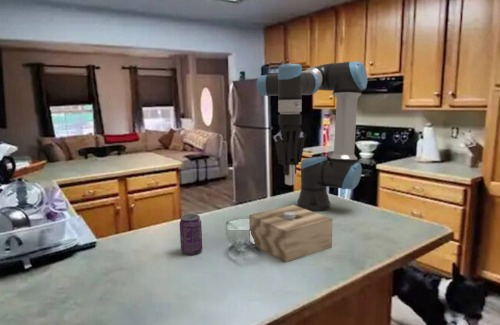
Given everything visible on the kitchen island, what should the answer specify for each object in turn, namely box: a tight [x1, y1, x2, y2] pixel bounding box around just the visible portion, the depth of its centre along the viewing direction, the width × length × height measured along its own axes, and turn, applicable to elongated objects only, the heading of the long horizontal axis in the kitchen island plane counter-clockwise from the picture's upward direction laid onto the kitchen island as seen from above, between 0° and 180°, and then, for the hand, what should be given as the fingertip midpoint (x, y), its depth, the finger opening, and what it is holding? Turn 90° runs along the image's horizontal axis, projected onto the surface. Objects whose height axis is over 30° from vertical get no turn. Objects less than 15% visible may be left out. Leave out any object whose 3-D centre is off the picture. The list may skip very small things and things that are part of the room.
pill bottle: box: [284, 212, 296, 221], centre depth 123 cm, size 6×5×10 cm
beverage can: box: [179, 213, 203, 256], centre depth 119 cm, size 7×7×12 cm
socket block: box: [248, 204, 334, 263], centre depth 124 cm, size 20×20×10 cm
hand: (290, 184), depth 121 cm, fingers closed
